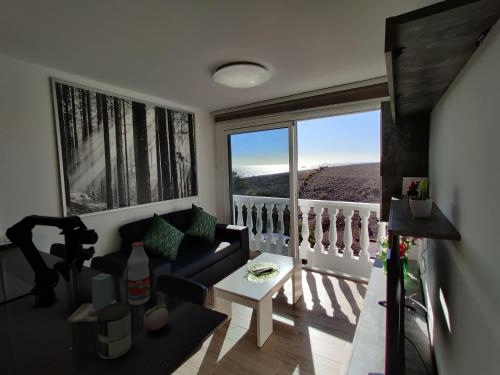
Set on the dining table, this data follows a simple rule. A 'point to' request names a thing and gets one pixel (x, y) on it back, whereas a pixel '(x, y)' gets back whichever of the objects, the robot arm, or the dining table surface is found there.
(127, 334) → the coffee can
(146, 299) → the fruit juice
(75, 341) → the dining table surface
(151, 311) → the decorative fruit
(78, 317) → the board
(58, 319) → the dining table surface
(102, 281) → the pillar
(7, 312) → the dining table surface
